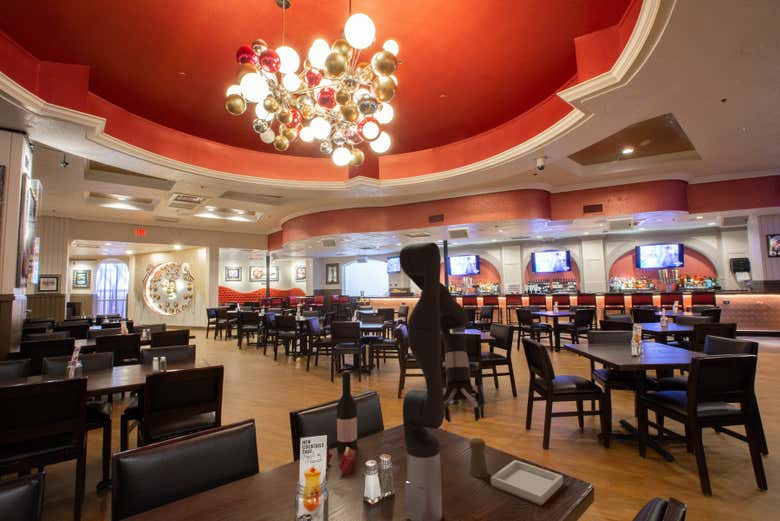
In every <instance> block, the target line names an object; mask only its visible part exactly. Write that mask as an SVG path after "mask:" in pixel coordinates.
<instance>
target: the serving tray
mask: <svg viewBox="0 0 780 521" xmlns="http://www.w3.org/2000/svg"><path fill="white" fill-rule="evenodd" d="M563 485H564V475H562V474H559V473H555V472H553V471H549V470H546V469H544V468H541V467H537V466H535V465H531V464H529V463H525V462H523V461H520V460H517V459H514V460H512V461H511V462H510V463H508V464H507V465H505V466H503V468H502V469H499V471H497V472H496V473H493V475H492V476H490V486H491V487H494V488H496V489H499V490H501V491H503V492H505V493H508V494H511V495H513V496H516V497H519V498H521V499H523V500H526V501H529V502H531V503H533V504H536V505H538V506H540V507H542V506H543V505H544V504H545V503H546V502H547V501H548V500H549V499H550V498H551V497H552V496H553V495H554V494H555V493H556V492H557V491H558V490H560V488H561V487H562V486H563Z"/></svg>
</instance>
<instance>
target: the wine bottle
mask: <svg viewBox="0 0 780 521" xmlns="http://www.w3.org/2000/svg"><path fill="white" fill-rule="evenodd" d="M341 376H342V377H341V378H342V379H341V380H342V386H341V387H342V395H341V397H340V398H339V401H338V402H337V405H336V430H337V431H336V432H337V433H336V438H337V440H336V441H337V446H336V447H337V451H336V452H338V453H341V454H343V452H344V451H345V448H346V447H349V448H350V449H352V450H356V451H358V419H357V418H358V415H357V414H358V411H357V410H358V409H357V408H358V407H357V406H358V405H357V402H356V400H355V399H354V397H353V395H352V394H351V391H352V390H351V389H352V388H351V385H352V384H351V372H350V370H343V371H342V374H341Z"/></svg>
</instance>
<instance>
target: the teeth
mask: <svg viewBox="0 0 780 521" xmlns="http://www.w3.org/2000/svg"><path fill="white" fill-rule="evenodd" d="M326 446H327V445H326ZM356 454H357V450H352V449H350V448H349V447H346V448H345V451H344V452H343V453H342V455H341V457H342V460H341V461H340V463H339V467H338V468H339V469H340V471H341V474H342V475H343V476H346V477H349V475H350V473H351V470H352V467H353V464H354V462H355V461H354V460H355V458H356ZM332 456H333V454H332V452H330V449H329V446H327V470H328V469H329V466H328V464H329V463H330V462H331V460H332Z"/></svg>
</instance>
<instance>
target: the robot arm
mask: <svg viewBox="0 0 780 521" xmlns="http://www.w3.org/2000/svg"><path fill="white" fill-rule="evenodd" d="M441 262H442V260H441V251H440V248H439V246H438V244H437V243H435V242H421V243H410V244H406V245H404V246H402V248H401V249H400V252H399V264H400V267H401V269H402V271H403V272H404V274H405V275H406V276H407V277H408V278H409V279H410V280H411V281H412V283H414V284H415V286H417V288H419V289H420V291H421V294H420V297H419V298H418V301H417V302H416V304H415V306H414V308H412V311H411V313H410V315H409V317H408V321H407V343H408V347H409V349H410V352H411V354H412V356H413V357H414V359H415V360H416V363H417V364H418V365H419V366H418V367H419V368H420V369H421V372H422V373H423V374H422V375H423V376H424V380H425V385H426V391H424V390H416V389H409V390H408V391H407V392H406V393H405V395H404V398H403V403H402V423H403V434H404V442H405V445H406V472H407V474H406V476H407V480H406V481H405V482H404V494H405V496H404V498H405V499H404V500H405V501H404V502H405V518H406V517H407V518H408V519H410V520H413V521H441V520H442V518H443V507H442V503H443V502H442V479H441V475H442V474H441V473H442V472H441V453H440V452H441V450H440V449H441V446H440V441H439V439H438V438H437V437H436V436H435V435H434V434H432V433H431V432H429V431H428V430H427V429H426V428H430V429H439V428H440V427H441V426H442V425H443V422H444V419H445V420H446V421H447V423H451V422H452V419H451V410H450V408H451V406H452V404H453V403H454V401H456V402H459V401H467V400H468V401H469V402H470V403H471V404H472V406H473V410H474V419H475V422H479V420H480V419H481V411H480V408H481V407H483V406H484V405H485V404H486V403H485V402H486V401H485V397H484V392H483V387H482V385H481V384H477V385H472V379H471V373H470V372H471V371H470V362H469V358H468V354H467V345H466V338H465V337H464V336H463V335H462V334H456V333H454V334H452V333H451V332H450V331H451V330H454V329H455V330H456V329H463V328H465V327H466V326H467V325H468V323H469V315H468V312H467V311H466V309H465V308H464V307H463V306H462V305H461V304H459V303H458V302H457V301H456V300H455V299H454V297H453V295H452V294H451V292H450V290H449V289H448V287H446V285H444V284H443V283H442V282H441V264H442V263H441ZM441 335H442V337H441ZM441 338H443V343H444V356H445V360H444V364H445V373H446V383H447V384H446V387H443V377H442V365H441V364H442V363H441V359H442V358H441V350H442V349H441V346H442V345H441ZM474 390H475V392H476V393H477V394H478V399H479V401H478V402H477V401H476V399H475V398H474V397H473V396H472V393H473V391H474ZM446 393H448V394H449V396H448V398H447V399H446V402H445V398H444V397H445V396H444V395H445V394H446ZM407 518H406V519H407ZM408 519H407V520H408ZM410 520H409V521H410Z"/></svg>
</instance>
